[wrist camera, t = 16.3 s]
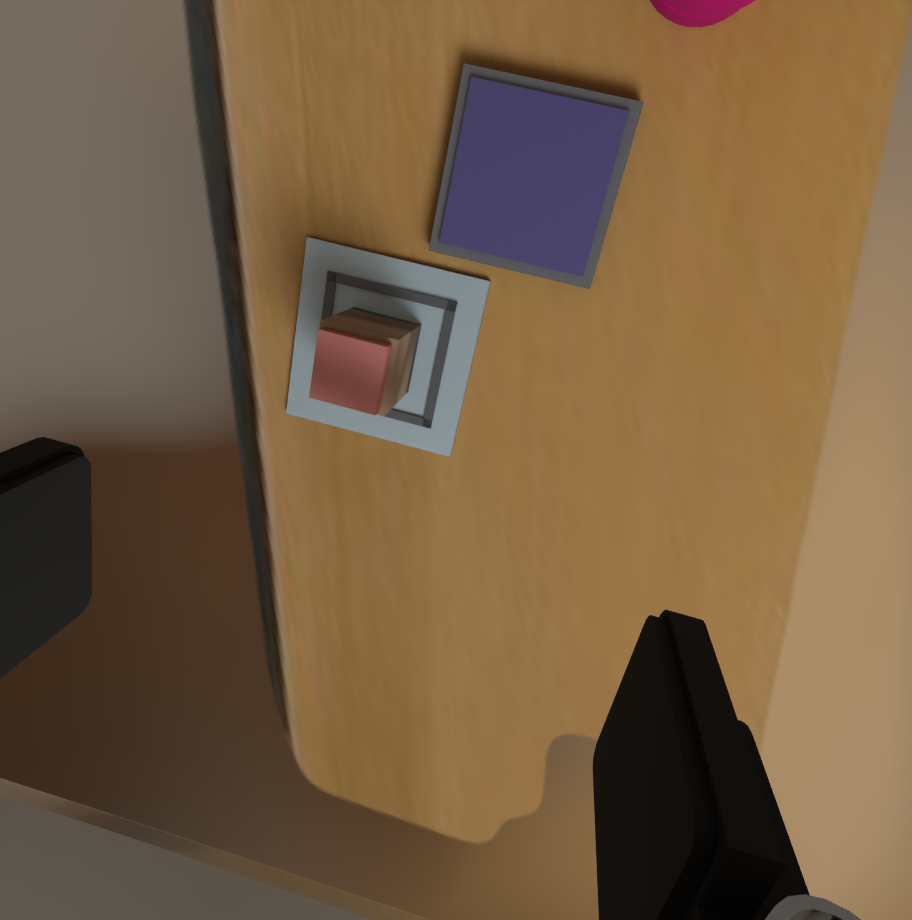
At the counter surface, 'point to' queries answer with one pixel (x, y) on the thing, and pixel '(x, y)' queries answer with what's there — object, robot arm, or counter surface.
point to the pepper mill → (698, 10)
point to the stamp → (364, 360)
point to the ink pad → (532, 174)
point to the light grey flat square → (401, 296)
